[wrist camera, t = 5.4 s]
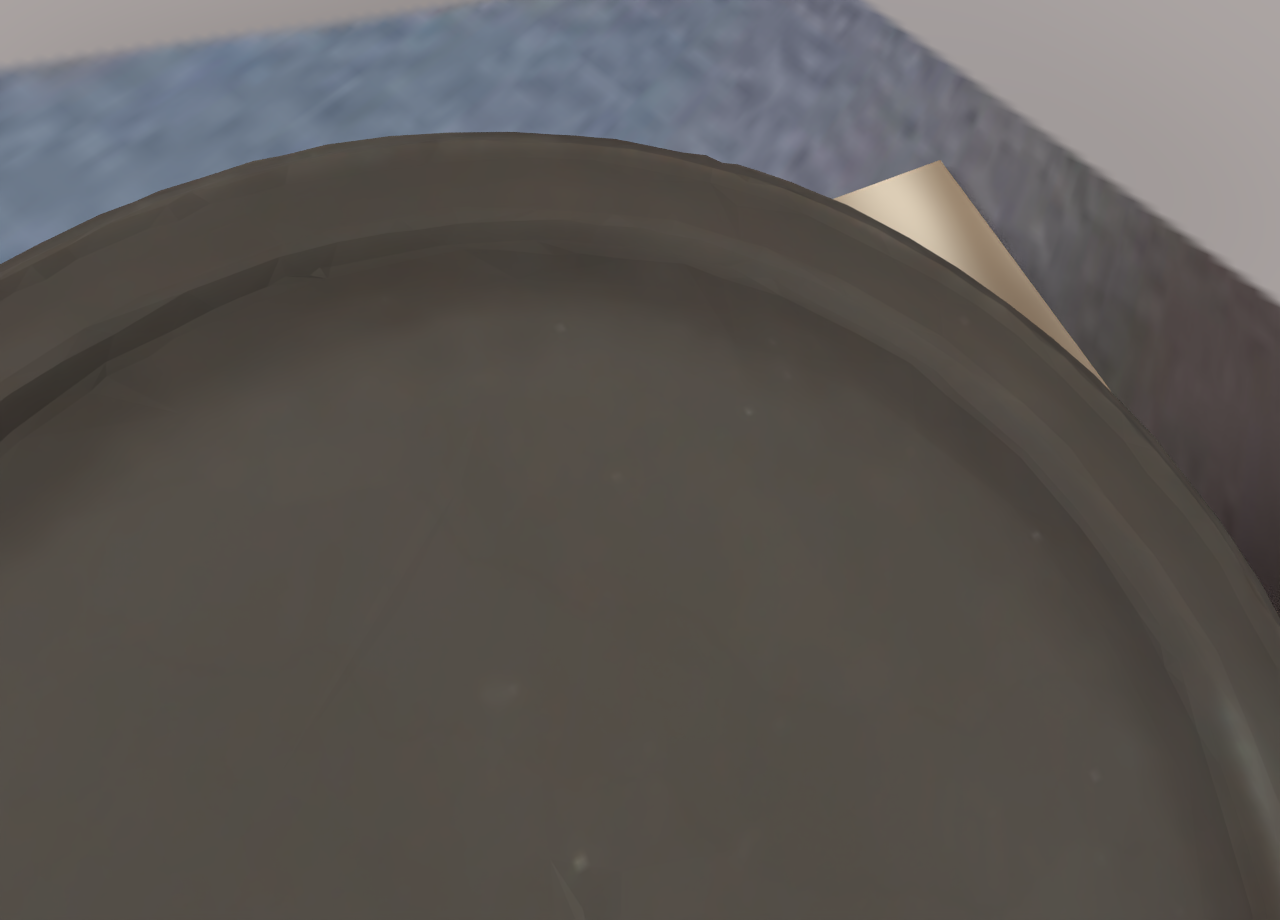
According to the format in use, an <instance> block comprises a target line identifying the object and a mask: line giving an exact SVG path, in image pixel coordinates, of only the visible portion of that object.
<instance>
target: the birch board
mask: <svg viewBox="0 0 1280 920" xmlns="http://www.w3.org/2000/svg"><path fill="white" fill-rule="evenodd" d="M833 200H836V201H839V202H841V203H844V204H846V205H848V206H850V207H852V208H854V209H856V210H858V211H860V212H862V213H864V214H865V215H867V216H869V217H871V218H873V219H875V220H877V221H879V222H880V223H882V224H884V225H886V226H888V227H890V228H892V229H894V230H896V231H897V232H899V233H901V234H903V235H905V236H907V237H909V238H910V239H912V240H914V241H915V242H917V243H919V244H920V245H922V246H923V247H925V248H927V249H928V250H930V251H932V252H933V253H935V254H936V255H938V256H940V257H941V258H943V259H945V260H946V261H948V262H949V263H951V264H953V265H954V266H956V267H958V268H959V269H960V270H962V271H963V272H965V273H966V274H968V275H969V276H970V277H972V278H973V279H975V280H976V281H977V282H979V283H980V284H982V285H983V286H984V287H986V288H987V289H989V290H990V291H991V292H993V293H994V294H996V295H997V296H999V297H1000V298H1001V299H1003V300H1004V301H1006V302H1007V303H1008V304H1010V305H1011V306H1012V307H1013V308H1015V309H1016V310H1017V311H1019V312H1020V313H1021V314H1022V315H1024V316H1025V317H1026V318H1028V319H1029V320H1030V321H1031V322H1033V323H1034V324H1035V325H1037V326H1038V327H1039V328H1040V329H1042V330H1043V331H1044V332H1045V333H1047V334H1048V335H1049V336H1051V337H1052V338H1053V339H1054V340H1055V341H1056V342H1057V343H1059V344H1060V345H1061V346H1062V347H1063V348H1064V349H1066V350H1067V351H1068V352H1069V353H1070V354H1071V355H1072V356H1074V357H1075V358H1076V359H1077V360H1078V361H1079V362H1080V363H1082V364H1083V365H1084V366H1085V367H1086V368H1087V369H1089V370H1090V371H1091V372H1092V373H1093V374H1094V375H1095V376H1096V377H1097V378H1098V379H1099V380H1100V381H1101V382H1102V383H1103V384H1104V385H1105V386H1106V387H1107V385H1106V384H1105V382H1104V381H1103V380H1102V378H1101V377H1100V376H1099V374H1098V373H1097V372H1096V370H1095V369H1094V368H1093V366H1092V365H1091V364H1090V362H1089V361H1088V359H1087V358H1086V357H1085V355H1084V354H1083V353H1082V351H1081V350H1080V349H1079V347H1078V346H1077V345H1076V343H1075V342H1074V340H1073V339H1072V338H1071V336H1070V335H1069V334H1068V332H1067V331H1066V330H1065V328H1064V327H1063V326H1062V324H1061V323H1060V322H1059V320H1058V319H1057V317H1056V316H1055V315H1054V313H1053V312H1052V311H1051V309H1050V308H1049V307H1048V305H1047V304H1046V303H1045V301H1044V300H1043V299H1042V297H1041V296H1040V294H1039V293H1038V292H1037V290H1036V289H1035V288H1034V286H1033V285H1032V284H1031V282H1030V281H1029V280H1028V278H1027V277H1026V275H1025V274H1024V273H1023V271H1022V270H1021V269H1020V267H1019V266H1018V265H1017V263H1016V262H1015V261H1014V259H1013V258H1012V257H1011V255H1010V254H1009V252H1008V251H1007V250H1006V248H1005V247H1004V246H1003V244H1002V243H1001V242H1000V240H999V239H998V238H997V236H996V235H995V234H994V232H993V231H992V229H991V228H990V227H989V225H988V224H987V223H986V221H985V220H984V219H983V217H982V216H981V215H980V213H979V212H978V211H977V209H976V208H975V206H974V205H973V204H972V202H971V201H970V200H969V198H968V197H967V196H966V194H965V193H964V192H963V190H962V189H961V187H960V186H959V185H958V183H957V182H956V181H955V179H954V178H953V177H952V175H951V174H950V173H949V171H948V170H947V169H946V167H945V166H944V164H943V163H942V162H941V160H939V161H936V162H934V163H931V164H928V165H925V166H923V167H920V168H917V169H914V170H912V171H909V172H906V173H903V174H901V175H898V176H895V177H892V178H890V179H887V180H884V181H881V182H879V183H876V184H873V185H871V186H868V187H865V188H862V189H860V190H857V191H854V192H851V193H849V194H846V195H843V196H840V197H838V198H835V199H833ZM1107 388H1108V387H1107ZM1108 389H1109V388H1108ZM1109 390H1110V389H1109Z"/></svg>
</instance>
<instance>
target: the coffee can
mask: <svg viewBox="0 0 1280 920" xmlns="http://www.w3.org/2000/svg"><path fill="white" fill-rule="evenodd" d="M0 920H1280V618H1279V616H1278V614H1277V612H1276V610H1275V608H1274V607H1273V605H1272V603H1271V601H1270V599H1269V597H1268V595H1267V594H1266V592H1265V590H1264V588H1263V586H1262V584H1261V582H1260V581H1259V579H1258V578H1257V576H1256V575H1255V573H1254V572H1253V570H1252V569H1251V567H1250V566H1249V564H1248V563H1247V561H1246V560H1245V558H1244V557H1243V555H1242V554H1241V552H1240V551H1239V549H1238V548H1237V546H1236V545H1235V543H1234V542H1233V540H1232V539H1231V537H1230V536H1229V534H1228V532H1227V531H1226V529H1225V528H1224V526H1223V525H1222V523H1221V522H1220V521H1219V519H1218V518H1217V517H1216V515H1215V514H1214V513H1213V512H1212V510H1211V509H1210V508H1209V506H1208V505H1207V504H1206V503H1205V501H1204V500H1203V499H1202V497H1201V496H1200V495H1199V494H1198V492H1197V491H1196V490H1195V488H1194V487H1193V486H1192V485H1191V483H1190V482H1189V481H1188V479H1187V478H1186V477H1185V476H1184V474H1183V473H1182V472H1181V470H1180V469H1179V468H1178V467H1177V465H1176V464H1175V463H1174V462H1173V460H1172V459H1171V458H1170V456H1169V455H1168V454H1167V453H1166V451H1165V450H1164V449H1163V448H1162V446H1161V445H1160V444H1159V442H1158V441H1157V440H1156V439H1155V437H1154V436H1153V435H1152V434H1151V433H1150V432H1149V431H1148V430H1147V429H1146V428H1145V427H1144V426H1143V425H1142V424H1141V423H1140V422H1139V421H1138V419H1137V418H1136V417H1135V416H1134V415H1133V414H1132V413H1131V412H1130V411H1129V410H1128V409H1127V408H1126V407H1125V406H1124V405H1123V404H1122V403H1121V402H1120V401H1119V400H1118V399H1117V398H1116V397H1115V395H1114V394H1113V393H1112V392H1111V391H1110V390H1109V389H1108V388H1107V387H1106V386H1105V385H1104V384H1103V383H1102V382H1101V381H1100V380H1099V379H1098V378H1097V377H1096V376H1095V375H1094V374H1093V373H1092V372H1091V371H1090V370H1089V369H1087V368H1086V367H1085V366H1084V365H1083V364H1082V363H1080V362H1079V361H1078V360H1077V359H1076V358H1075V357H1074V356H1072V355H1071V354H1070V353H1069V352H1068V351H1067V350H1066V349H1064V348H1063V347H1062V346H1061V345H1060V344H1059V343H1057V342H1056V341H1055V340H1054V339H1053V338H1052V337H1051V336H1049V335H1048V334H1047V333H1045V332H1044V331H1043V330H1042V329H1040V328H1039V327H1038V326H1037V325H1035V324H1034V323H1033V322H1031V321H1030V320H1029V319H1028V318H1026V317H1025V316H1024V315H1022V314H1021V313H1020V312H1019V311H1017V310H1016V309H1015V308H1013V307H1012V306H1011V305H1010V304H1008V303H1007V302H1006V301H1004V300H1003V299H1001V298H1000V297H999V296H997V295H996V294H994V293H993V292H991V291H990V290H989V289H987V288H986V287H984V286H983V285H982V284H980V283H979V282H977V281H976V280H975V279H973V278H972V277H970V276H969V275H968V274H966V273H965V272H963V271H962V270H960V269H959V268H958V267H956V266H954V265H953V264H951V263H949V262H948V261H946V260H945V259H943V258H941V257H940V256H938V255H936V254H935V253H933V252H932V251H930V250H928V249H927V248H925V247H923V246H922V245H920V244H919V243H917V242H915V241H914V240H912V239H910V238H909V237H907V236H905V235H903V234H901V233H899V232H897V231H896V230H894V229H892V228H890V227H888V226H886V225H884V224H882V223H880V222H879V221H877V220H875V219H873V218H871V217H869V216H867V215H865V214H864V213H862V212H860V211H858V210H856V209H854V208H852V207H850V206H848V205H846V204H844V203H841V202H839V201H836V200H833V199H831V198H828V197H826V196H823V195H820V194H818V193H816V192H813V191H811V190H808V189H806V188H804V187H801V186H799V185H797V184H794V183H792V182H789V181H786V180H783V179H781V178H778V177H775V176H772V175H769V174H766V173H763V172H760V171H757V170H754V169H750V168H747V167H744V166H741V165H738V164H727V163H721V162H719V161H717V160H715V159H713V158H710V157H708V156H706V155H699V154H690V153H682V152H677V151H672V150H667V149H662V148H657V147H652V146H648V145H643V144H638V143H633V142H628V141H622V140H617V139H607V138H594V137H584V136H571V135H551V134H536V133H520V132H470V133H435V134H420V135H403V136H388V137H381V138H373V139H366V140H358V141H351V142H343V143H336V144H329V145H323V146H319V147H315V148H311V149H307V150H304V151H300V152H296V153H292V154H288V155H283V156H278V157H273V158H267V159H262V160H257V161H252V162H249V163H246V164H243V165H240V166H237V167H234V168H231V169H228V170H225V171H222V172H218V173H215V174H212V175H209V176H206V177H203V178H200V179H197V180H193V181H190V182H187V183H184V184H180V185H177V186H174V187H171V188H167V189H164V190H161V191H158V192H156V193H154V194H151V195H149V196H147V197H144V198H142V199H140V200H138V201H135V202H133V203H130V204H127V205H125V206H122V207H119V208H117V209H114V210H111V211H108V212H106V213H103V214H100V215H98V216H96V217H94V218H92V219H90V220H88V221H86V222H84V223H82V224H79V225H77V226H75V227H73V228H71V229H69V230H67V231H65V232H63V233H61V234H59V235H57V236H55V237H53V238H51V239H48V240H46V241H44V242H42V243H40V244H38V245H36V246H34V247H32V248H31V249H29V250H27V251H25V252H23V253H21V254H19V255H17V256H15V257H13V258H12V259H10V260H8V261H6V262H4V263H2V264H0Z"/></svg>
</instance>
